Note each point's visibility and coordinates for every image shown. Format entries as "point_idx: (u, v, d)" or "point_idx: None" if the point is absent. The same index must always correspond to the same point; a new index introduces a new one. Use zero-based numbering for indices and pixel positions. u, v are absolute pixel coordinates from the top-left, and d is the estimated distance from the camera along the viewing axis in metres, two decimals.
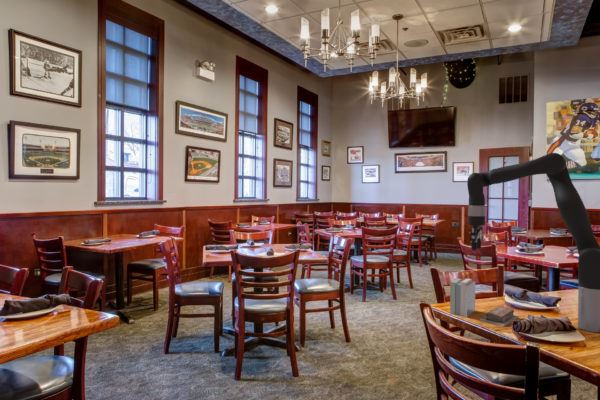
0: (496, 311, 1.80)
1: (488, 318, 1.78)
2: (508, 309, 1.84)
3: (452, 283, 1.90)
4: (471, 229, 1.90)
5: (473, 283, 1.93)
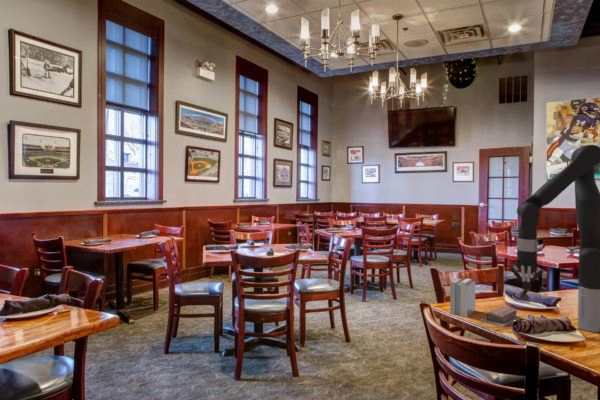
0: (497, 311, 1.79)
1: (488, 318, 1.78)
2: (510, 310, 1.83)
3: (452, 283, 1.90)
4: (542, 272, 1.71)
5: (473, 283, 1.93)
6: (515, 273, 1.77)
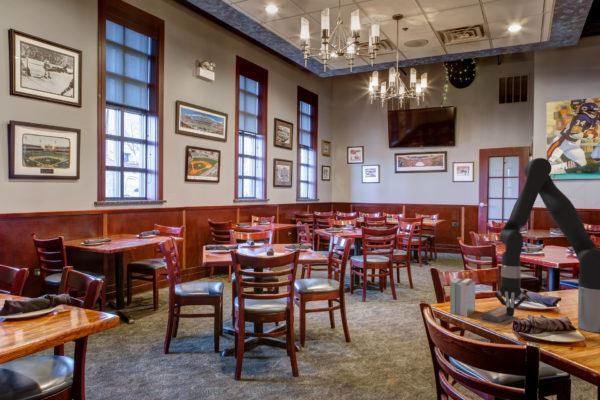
0: (493, 311, 1.81)
1: (484, 318, 1.79)
2: None
3: (452, 283, 1.90)
4: (525, 298, 1.75)
5: (473, 283, 1.93)
6: (499, 299, 1.80)
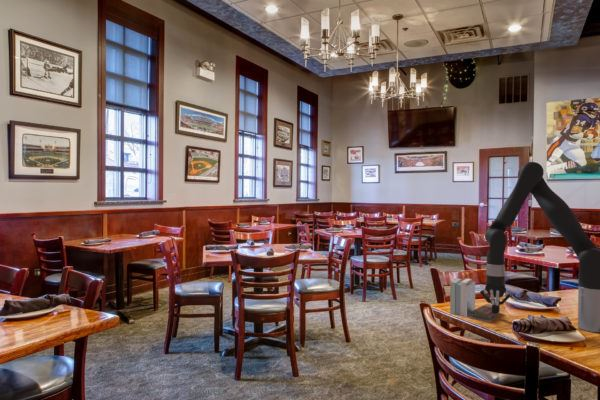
0: (482, 309, 1.85)
1: (474, 315, 1.83)
2: None
3: (452, 283, 1.90)
4: None
5: (473, 283, 1.93)
6: (485, 297, 1.84)
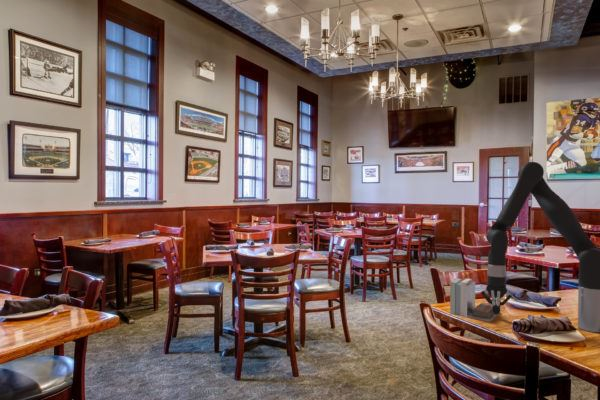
0: (481, 307, 1.86)
1: (475, 314, 1.83)
2: (491, 305, 1.90)
3: (452, 283, 1.90)
4: None
5: (473, 283, 1.93)
6: (486, 297, 1.84)
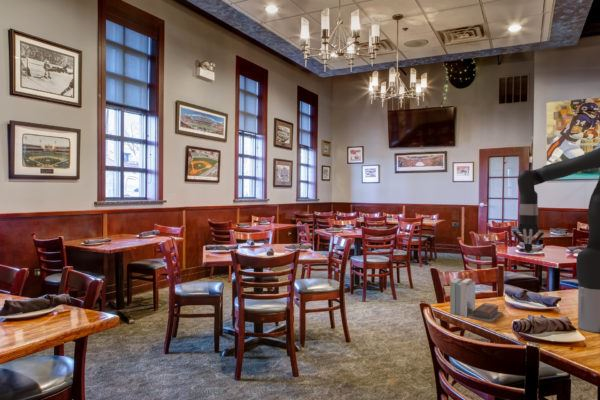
0: (483, 308, 1.85)
1: (476, 315, 1.83)
2: (493, 305, 1.90)
3: (452, 283, 1.90)
4: None
5: (473, 283, 1.93)
6: (518, 236, 1.89)
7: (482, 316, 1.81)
